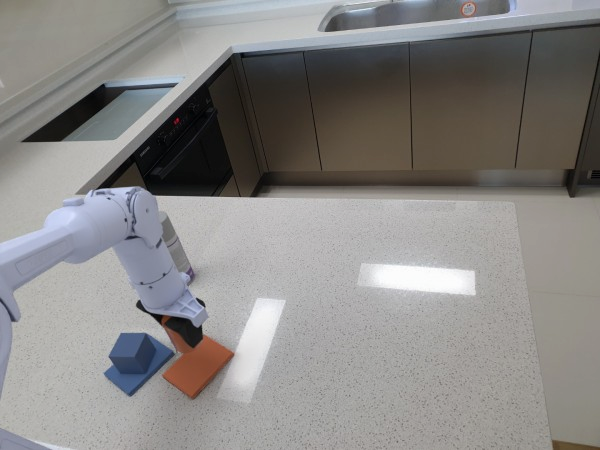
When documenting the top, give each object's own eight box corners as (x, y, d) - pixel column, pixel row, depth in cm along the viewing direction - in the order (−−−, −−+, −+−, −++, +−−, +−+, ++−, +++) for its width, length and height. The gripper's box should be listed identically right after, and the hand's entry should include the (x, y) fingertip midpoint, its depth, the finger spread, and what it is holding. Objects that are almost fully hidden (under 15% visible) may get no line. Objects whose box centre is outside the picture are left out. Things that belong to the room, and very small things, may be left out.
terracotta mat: (192, 399, 67) (190, 396, 67) (163, 378, 71) (161, 375, 71) (234, 355, 73) (233, 352, 72) (205, 337, 76) (203, 334, 76)
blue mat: (130, 397, 70) (128, 394, 69) (105, 376, 74) (103, 373, 73) (174, 353, 75) (173, 350, 74) (149, 336, 79) (147, 333, 78)
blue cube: (145, 374, 72) (134, 356, 69) (120, 373, 73) (107, 356, 70) (156, 350, 75) (146, 332, 72) (131, 350, 76) (120, 332, 73)
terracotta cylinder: (187, 358, 65) (174, 334, 62) (168, 345, 68) (155, 321, 65) (209, 336, 68) (198, 312, 65) (190, 325, 70) (178, 300, 67)
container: (170, 275, 90) (140, 215, 81) (193, 267, 91) (166, 207, 82) (172, 291, 87) (141, 230, 78) (196, 283, 87) (168, 221, 78)
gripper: (211, 267, 57) (239, 336, 65) (143, 234, 65) (175, 299, 73) (168, 305, 53) (203, 373, 61) (101, 265, 61) (140, 330, 69)
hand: (186, 335), depth 67 cm, fingers closed on terracotta cylinder, 4 cm apart
